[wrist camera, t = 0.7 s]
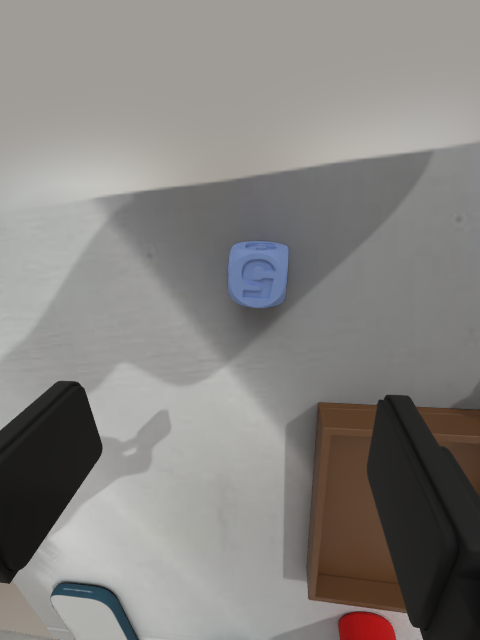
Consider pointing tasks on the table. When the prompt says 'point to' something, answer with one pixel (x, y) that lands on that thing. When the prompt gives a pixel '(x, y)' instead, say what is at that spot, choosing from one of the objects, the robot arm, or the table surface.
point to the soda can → (365, 627)
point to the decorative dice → (258, 273)
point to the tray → (366, 503)
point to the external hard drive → (91, 613)
